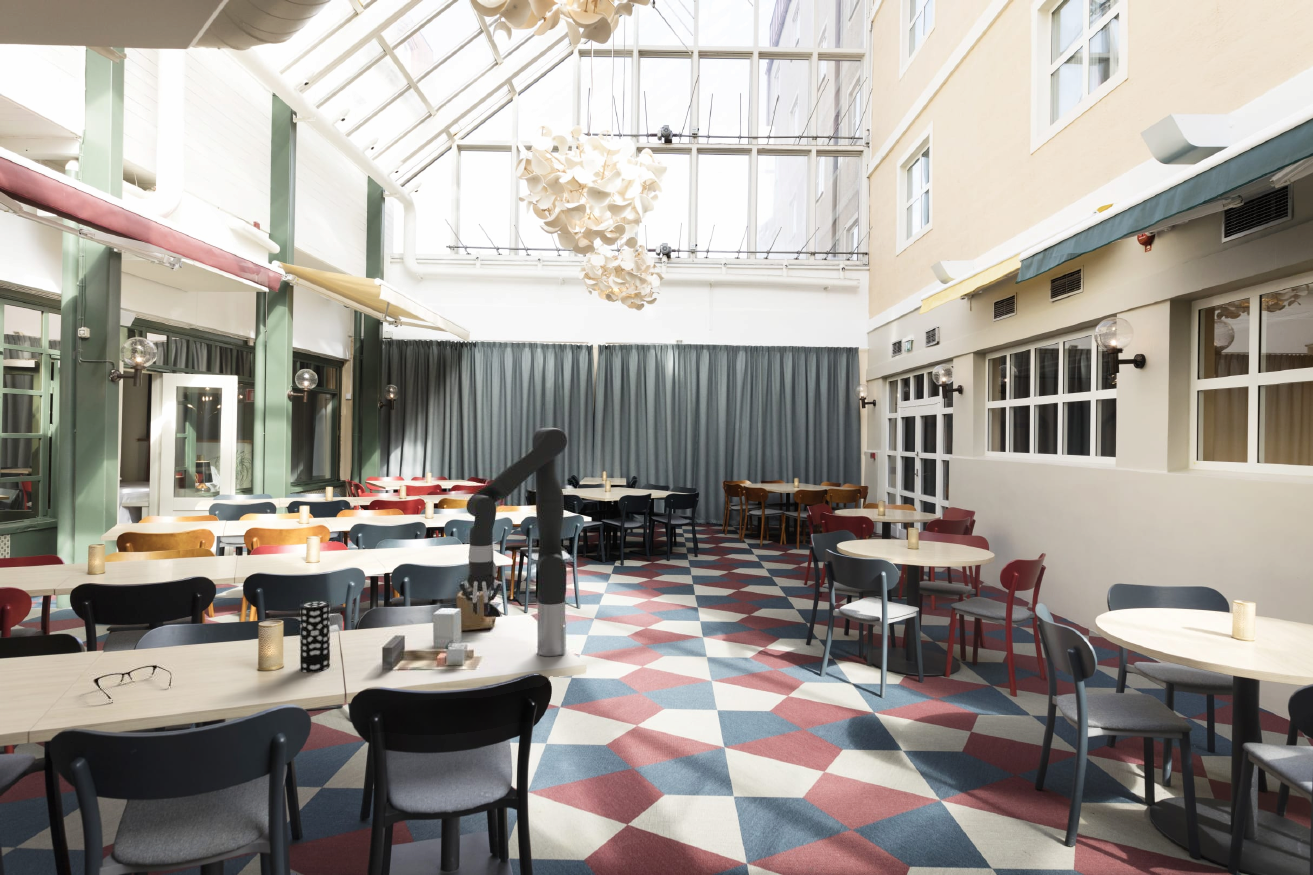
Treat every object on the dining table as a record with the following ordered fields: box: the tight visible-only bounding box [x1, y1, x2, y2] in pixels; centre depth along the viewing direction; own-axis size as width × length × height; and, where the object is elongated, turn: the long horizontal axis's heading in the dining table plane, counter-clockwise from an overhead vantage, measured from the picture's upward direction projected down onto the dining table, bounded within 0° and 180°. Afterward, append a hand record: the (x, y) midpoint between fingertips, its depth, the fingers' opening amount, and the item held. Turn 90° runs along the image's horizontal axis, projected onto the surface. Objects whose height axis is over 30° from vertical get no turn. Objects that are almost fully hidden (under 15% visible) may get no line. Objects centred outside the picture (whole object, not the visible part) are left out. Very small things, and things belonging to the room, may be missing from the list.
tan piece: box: [456, 588, 497, 631], centre depth 259 cm, size 15×12×15 cm
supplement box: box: [432, 607, 462, 648], centre depth 238 cm, size 7×7×13 cm
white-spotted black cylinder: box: [299, 600, 331, 674], centre depth 217 cm, size 8×8×20 cm
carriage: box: [444, 639, 468, 665], centre depth 218 cm, size 5×6×6 cm
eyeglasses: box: [92, 664, 172, 700], centre depth 199 cm, size 16×16×4 cm
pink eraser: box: [437, 653, 446, 665], centre depth 218 cm, size 2×4×2 cm, turn 3°
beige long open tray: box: [381, 634, 484, 672], centre depth 218 cm, size 28×12×8 cm, turn 93°
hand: (481, 613), depth 218 cm, fingers closed
